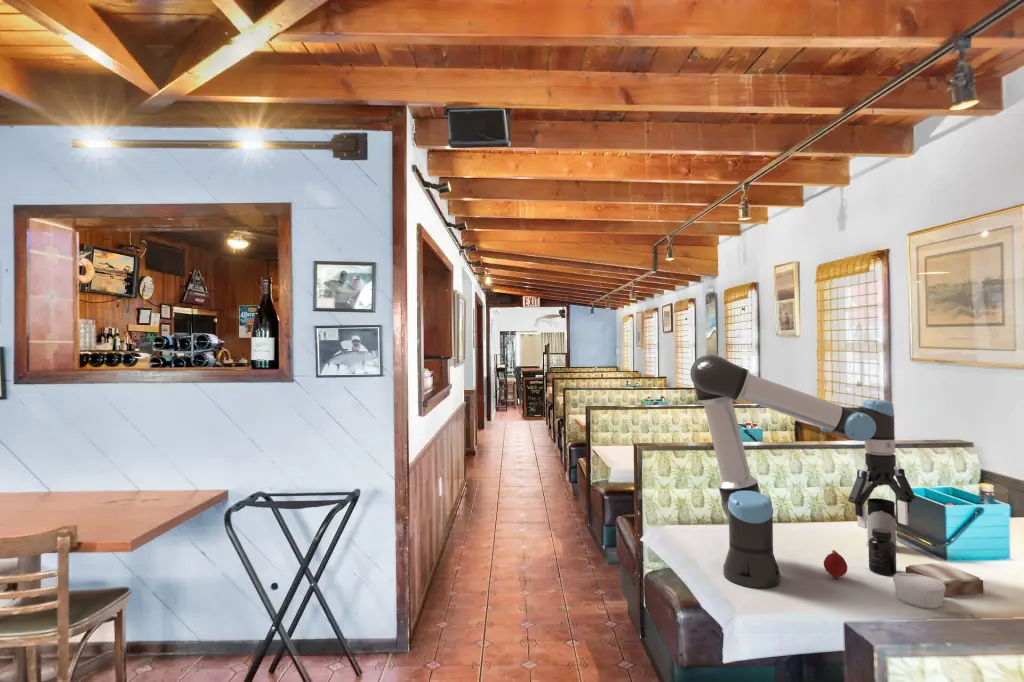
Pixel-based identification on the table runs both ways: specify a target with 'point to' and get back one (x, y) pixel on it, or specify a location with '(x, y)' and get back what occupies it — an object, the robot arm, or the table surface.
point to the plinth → (949, 578)
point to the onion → (835, 565)
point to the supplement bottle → (882, 552)
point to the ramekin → (919, 590)
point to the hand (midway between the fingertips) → (882, 525)
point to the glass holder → (881, 517)
